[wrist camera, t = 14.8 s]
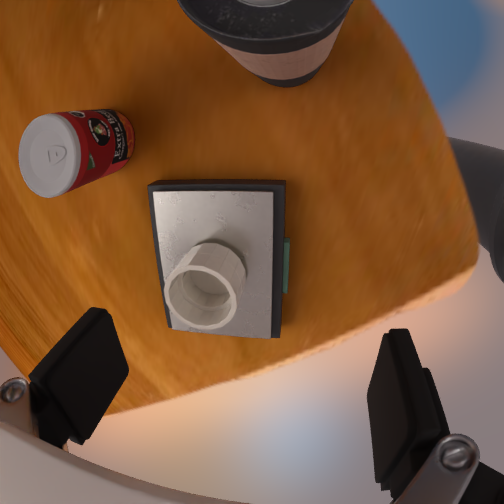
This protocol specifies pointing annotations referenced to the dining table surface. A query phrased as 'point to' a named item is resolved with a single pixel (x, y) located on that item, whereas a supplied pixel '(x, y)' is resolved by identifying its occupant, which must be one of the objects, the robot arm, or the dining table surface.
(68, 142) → the canned food
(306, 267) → the dining table surface
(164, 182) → the scale
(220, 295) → the white cup
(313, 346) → the dining table surface
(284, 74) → the travel mug
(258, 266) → the platform
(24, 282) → the dining table surface
